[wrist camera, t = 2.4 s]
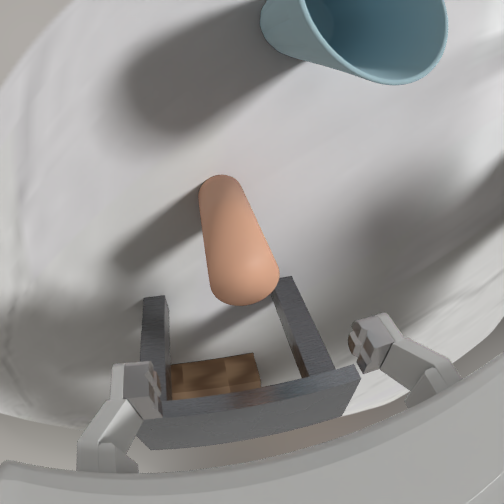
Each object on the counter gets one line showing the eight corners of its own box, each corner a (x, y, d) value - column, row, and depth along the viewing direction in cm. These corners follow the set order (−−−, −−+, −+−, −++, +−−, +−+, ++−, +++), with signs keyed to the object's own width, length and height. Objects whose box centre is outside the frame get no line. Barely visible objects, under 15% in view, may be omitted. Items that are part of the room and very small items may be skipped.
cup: (218, 14, 15) (252, -34, 6) (302, -38, 13) (386, -87, 5) (289, 91, 19) (371, 117, 11) (362, 38, 17) (467, 42, 9)
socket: (253, 352, 34) (260, 380, 31) (254, 397, 41) (260, 420, 38) (153, 366, 33) (153, 395, 29) (175, 409, 39) (178, 432, 36)
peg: (241, 172, 22) (280, 246, 14) (243, 212, 24) (278, 299, 16) (195, 177, 21) (205, 256, 13) (200, 218, 23) (214, 310, 15)
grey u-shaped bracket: (297, 258, 28) (361, 378, 17) (293, 305, 31) (341, 416, 20) (133, 282, 25) (121, 420, 15) (149, 327, 29) (151, 450, 18)
